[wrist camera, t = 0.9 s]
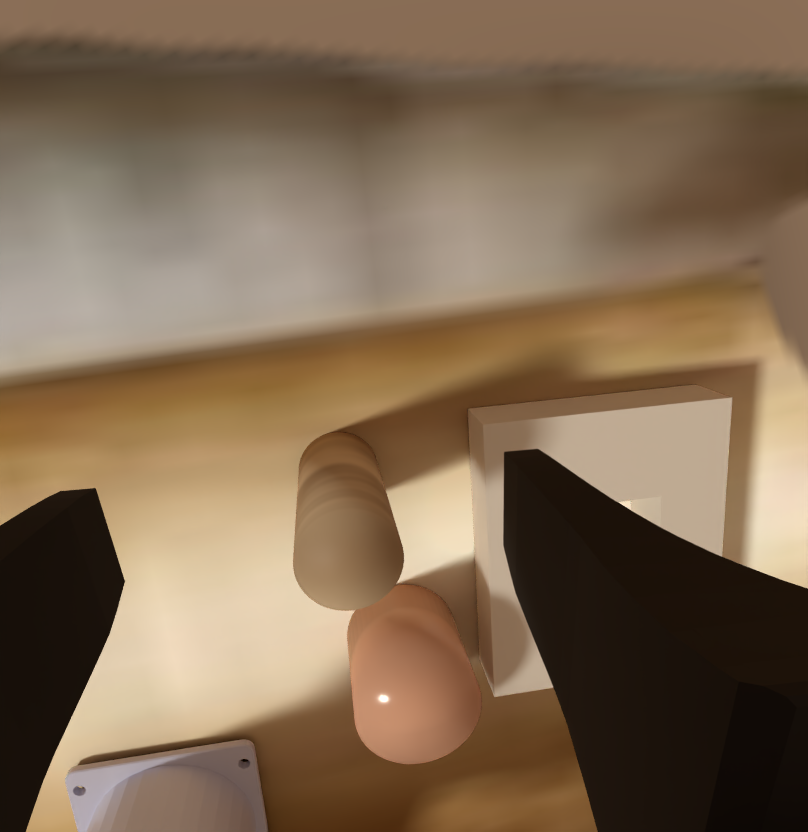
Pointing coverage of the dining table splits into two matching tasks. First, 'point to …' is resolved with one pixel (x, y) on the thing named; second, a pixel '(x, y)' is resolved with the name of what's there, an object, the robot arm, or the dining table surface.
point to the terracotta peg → (411, 677)
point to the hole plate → (606, 471)
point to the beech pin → (344, 525)
